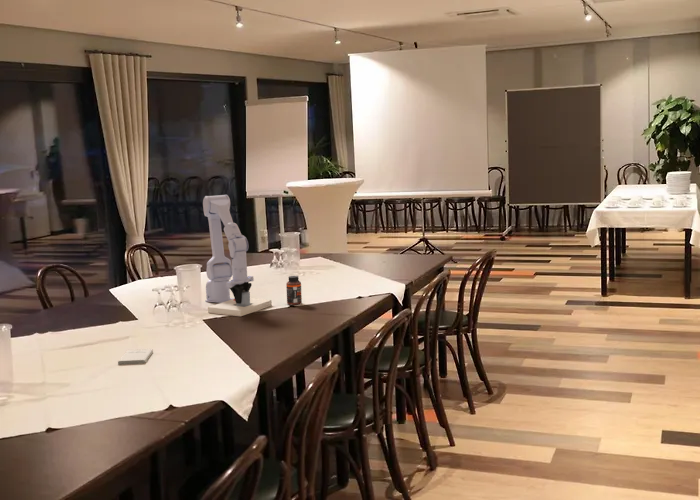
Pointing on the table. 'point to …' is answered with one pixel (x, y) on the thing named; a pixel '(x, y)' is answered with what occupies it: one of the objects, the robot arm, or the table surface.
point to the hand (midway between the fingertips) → (241, 302)
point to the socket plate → (239, 307)
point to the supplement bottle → (294, 291)
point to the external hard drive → (135, 356)
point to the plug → (245, 299)
